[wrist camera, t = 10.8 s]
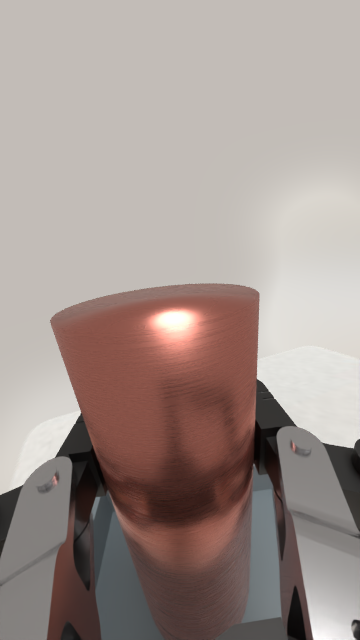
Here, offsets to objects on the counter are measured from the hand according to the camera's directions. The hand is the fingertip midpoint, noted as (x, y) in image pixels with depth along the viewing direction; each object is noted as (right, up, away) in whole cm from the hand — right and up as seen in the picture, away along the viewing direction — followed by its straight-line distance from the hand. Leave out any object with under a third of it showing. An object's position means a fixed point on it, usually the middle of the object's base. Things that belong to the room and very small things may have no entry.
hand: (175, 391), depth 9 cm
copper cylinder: (+1, -9, 0) cm, 9 cm away
